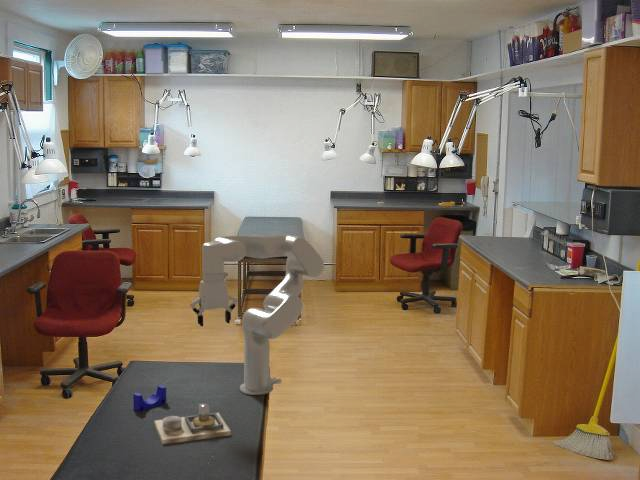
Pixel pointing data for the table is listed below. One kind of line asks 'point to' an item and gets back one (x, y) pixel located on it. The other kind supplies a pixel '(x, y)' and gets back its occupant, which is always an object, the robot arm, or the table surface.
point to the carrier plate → (189, 429)
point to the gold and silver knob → (203, 417)
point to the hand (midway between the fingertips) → (214, 323)
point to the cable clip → (150, 399)
